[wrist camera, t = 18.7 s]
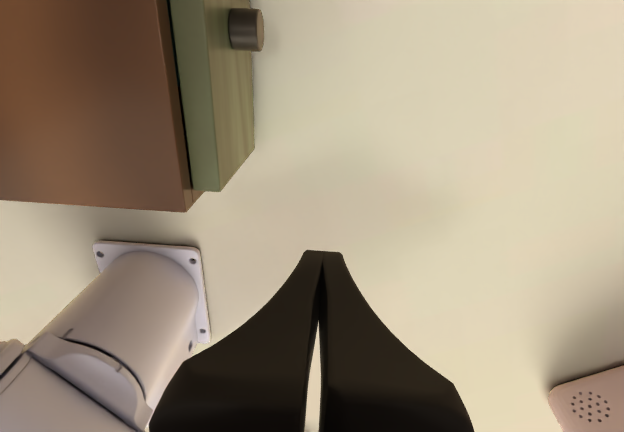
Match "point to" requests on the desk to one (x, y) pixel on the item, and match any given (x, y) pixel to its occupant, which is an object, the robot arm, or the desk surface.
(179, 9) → the drawer
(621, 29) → the desk surface
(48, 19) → the cabinet
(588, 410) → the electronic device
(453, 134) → the desk surface
